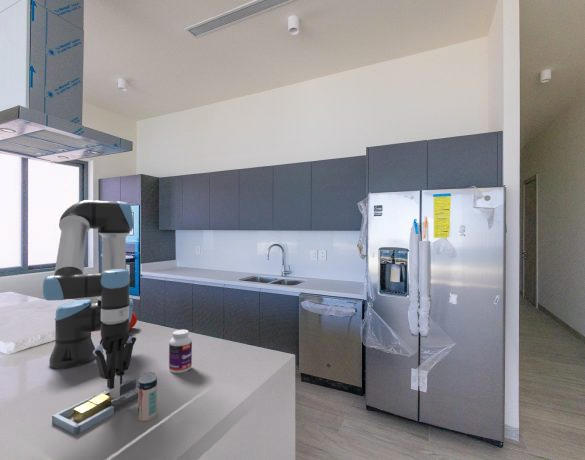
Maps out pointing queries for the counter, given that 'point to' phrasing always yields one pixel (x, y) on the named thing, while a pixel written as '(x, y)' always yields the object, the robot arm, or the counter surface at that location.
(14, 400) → the counter surface
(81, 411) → the tan small block
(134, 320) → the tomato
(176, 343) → the pill bottle
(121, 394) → the slot rail
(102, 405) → the block
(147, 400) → the beer can
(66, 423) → the chip tray
